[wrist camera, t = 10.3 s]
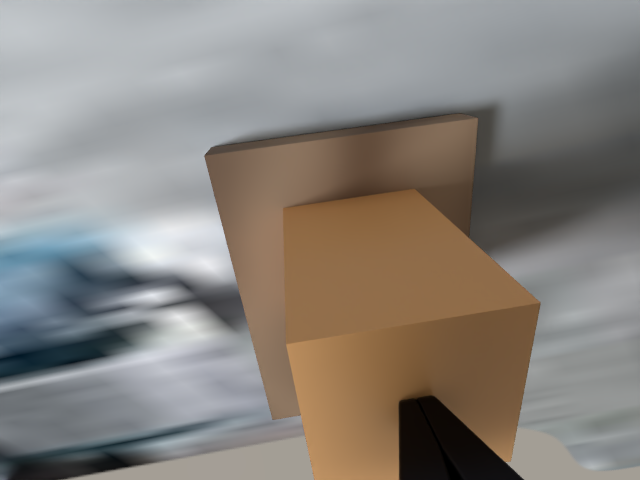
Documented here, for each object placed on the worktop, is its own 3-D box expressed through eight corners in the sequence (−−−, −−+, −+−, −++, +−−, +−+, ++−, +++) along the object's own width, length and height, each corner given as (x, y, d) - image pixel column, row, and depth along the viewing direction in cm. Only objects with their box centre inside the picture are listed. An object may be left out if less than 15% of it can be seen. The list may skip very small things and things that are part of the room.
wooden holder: (459, 113, 14) (615, 153, 8) (446, 367, 21) (525, 512, 14) (211, 147, 14) (149, 220, 7) (273, 396, 20) (269, 560, 14)
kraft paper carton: (414, 188, 14) (540, 302, 7) (414, 297, 16) (511, 461, 10) (282, 208, 14) (285, 344, 7) (301, 315, 16) (317, 496, 9)
